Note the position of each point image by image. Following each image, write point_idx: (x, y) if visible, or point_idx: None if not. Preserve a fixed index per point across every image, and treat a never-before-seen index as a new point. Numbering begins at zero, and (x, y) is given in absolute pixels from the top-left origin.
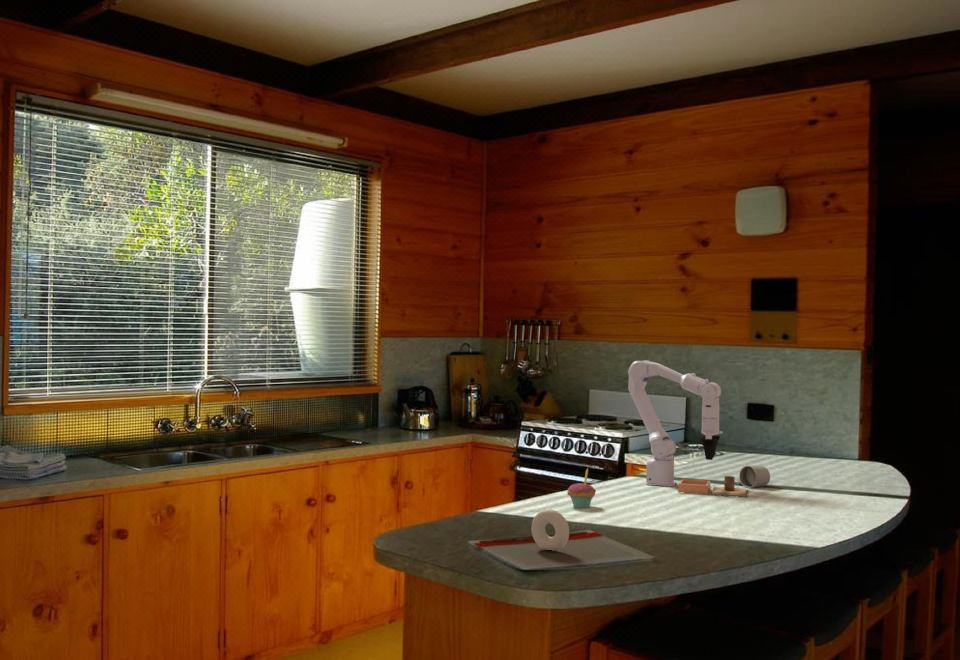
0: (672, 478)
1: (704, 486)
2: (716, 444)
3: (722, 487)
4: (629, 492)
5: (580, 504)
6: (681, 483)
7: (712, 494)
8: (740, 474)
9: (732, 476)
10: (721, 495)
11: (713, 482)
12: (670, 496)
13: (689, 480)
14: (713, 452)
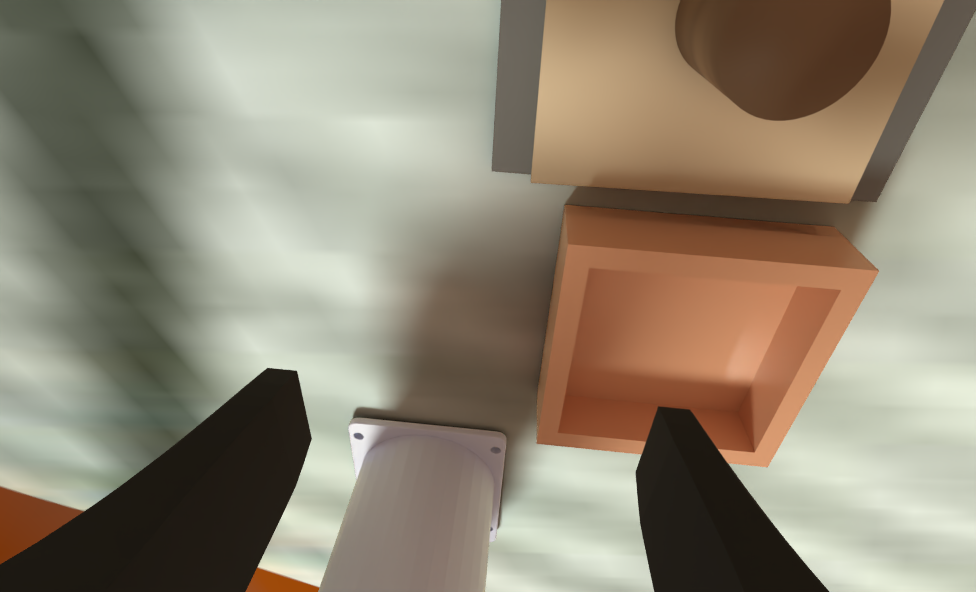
0: (449, 474)
1: (855, 293)
2: (129, 568)
3: (564, 98)
4: None
5: None
6: None
7: (880, 192)
8: None
9: None
10: (922, 104)
11: (136, 173)
12: (893, 449)
13: (563, 396)
14: (773, 525)
